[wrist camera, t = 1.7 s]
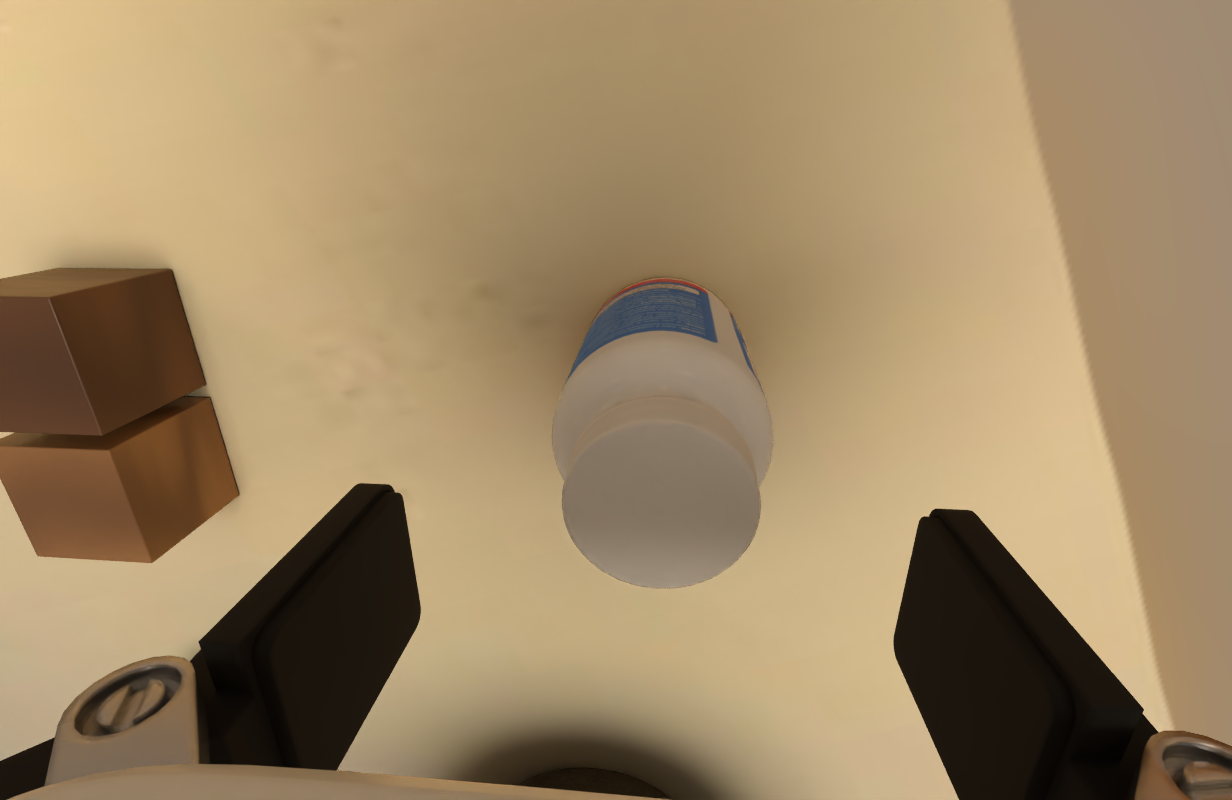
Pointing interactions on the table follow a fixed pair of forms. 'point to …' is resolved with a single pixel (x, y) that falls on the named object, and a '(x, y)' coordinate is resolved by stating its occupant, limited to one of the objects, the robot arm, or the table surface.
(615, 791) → the planter
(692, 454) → the pill bottle
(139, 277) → the block
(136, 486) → the block
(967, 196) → the table surface
